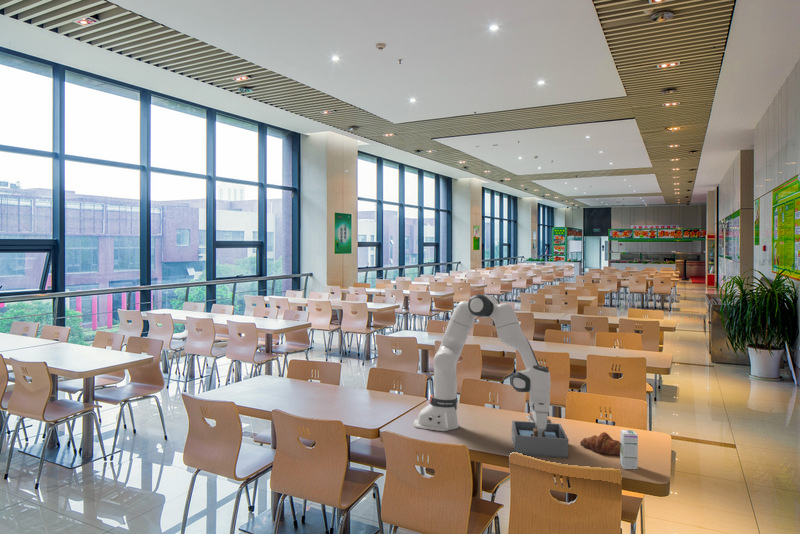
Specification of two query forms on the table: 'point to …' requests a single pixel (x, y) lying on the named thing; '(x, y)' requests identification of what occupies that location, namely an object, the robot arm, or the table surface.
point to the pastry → (602, 444)
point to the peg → (535, 432)
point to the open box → (539, 440)
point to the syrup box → (629, 449)
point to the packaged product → (533, 418)
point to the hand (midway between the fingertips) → (538, 433)
